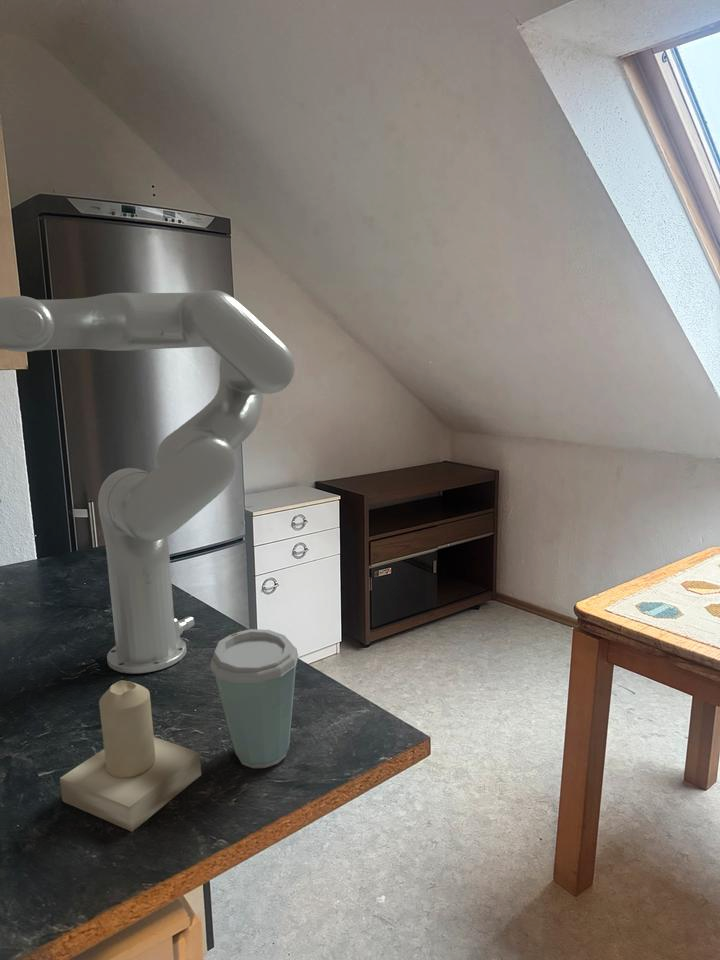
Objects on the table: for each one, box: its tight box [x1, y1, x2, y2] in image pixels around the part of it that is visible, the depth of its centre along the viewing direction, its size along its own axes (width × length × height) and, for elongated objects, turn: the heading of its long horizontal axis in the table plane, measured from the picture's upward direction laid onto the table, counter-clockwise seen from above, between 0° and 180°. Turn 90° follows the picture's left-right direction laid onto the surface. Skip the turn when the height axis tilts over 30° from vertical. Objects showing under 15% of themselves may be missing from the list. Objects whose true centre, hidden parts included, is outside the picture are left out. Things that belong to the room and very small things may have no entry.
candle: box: [98, 679, 155, 778], centre depth 80 cm, size 6×6×10 cm
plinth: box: [59, 736, 202, 833], centre depth 81 cm, size 11×11×3 cm
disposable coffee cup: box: [209, 628, 299, 769], centre depth 86 cm, size 11×11×15 cm
